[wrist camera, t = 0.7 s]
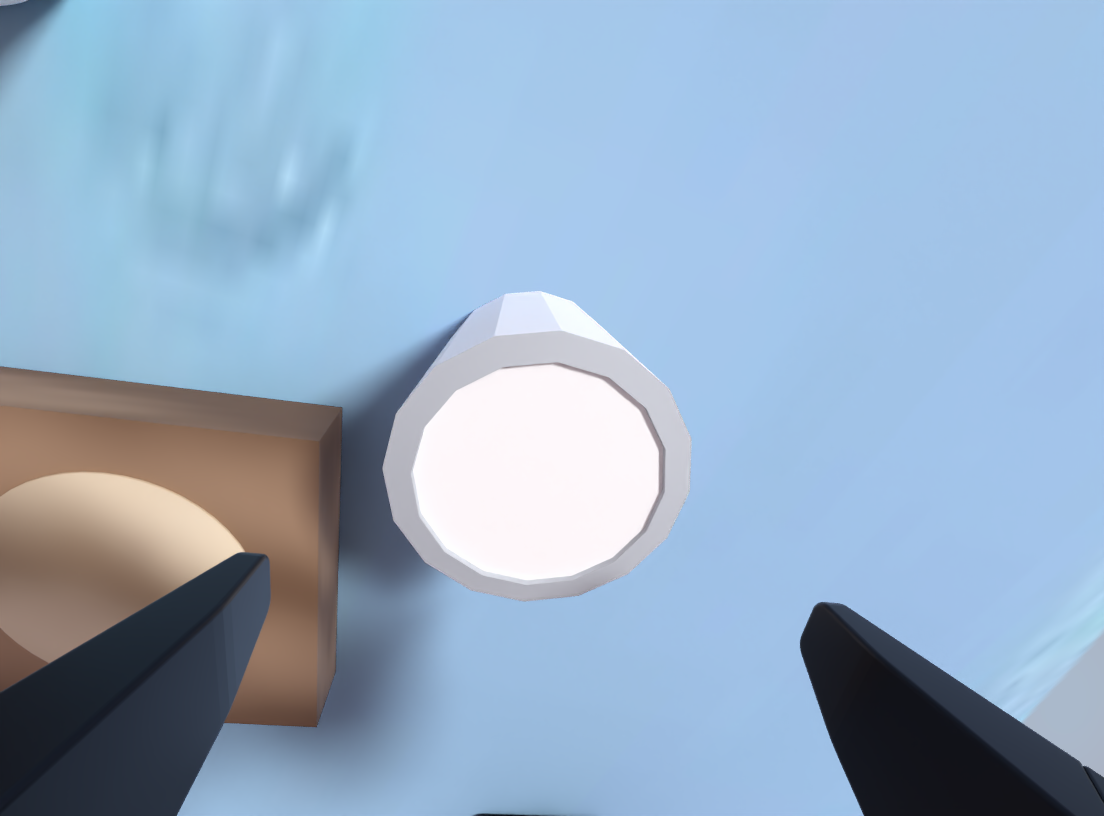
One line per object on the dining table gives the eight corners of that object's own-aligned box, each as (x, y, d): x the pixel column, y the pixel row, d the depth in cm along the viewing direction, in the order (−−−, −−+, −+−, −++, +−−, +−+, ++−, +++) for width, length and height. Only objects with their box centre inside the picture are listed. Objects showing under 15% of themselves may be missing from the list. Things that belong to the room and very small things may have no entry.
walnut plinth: (335, 671, 23) (315, 730, 21) (13, 652, 22) (-50, 713, 19) (342, 407, 19) (317, 443, 16) (-65, 358, 17) (-160, 390, 15)
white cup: (566, 493, 21) (592, 640, 14) (391, 413, 19) (331, 540, 12) (670, 335, 19) (757, 424, 12) (484, 228, 17) (470, 266, 10)
